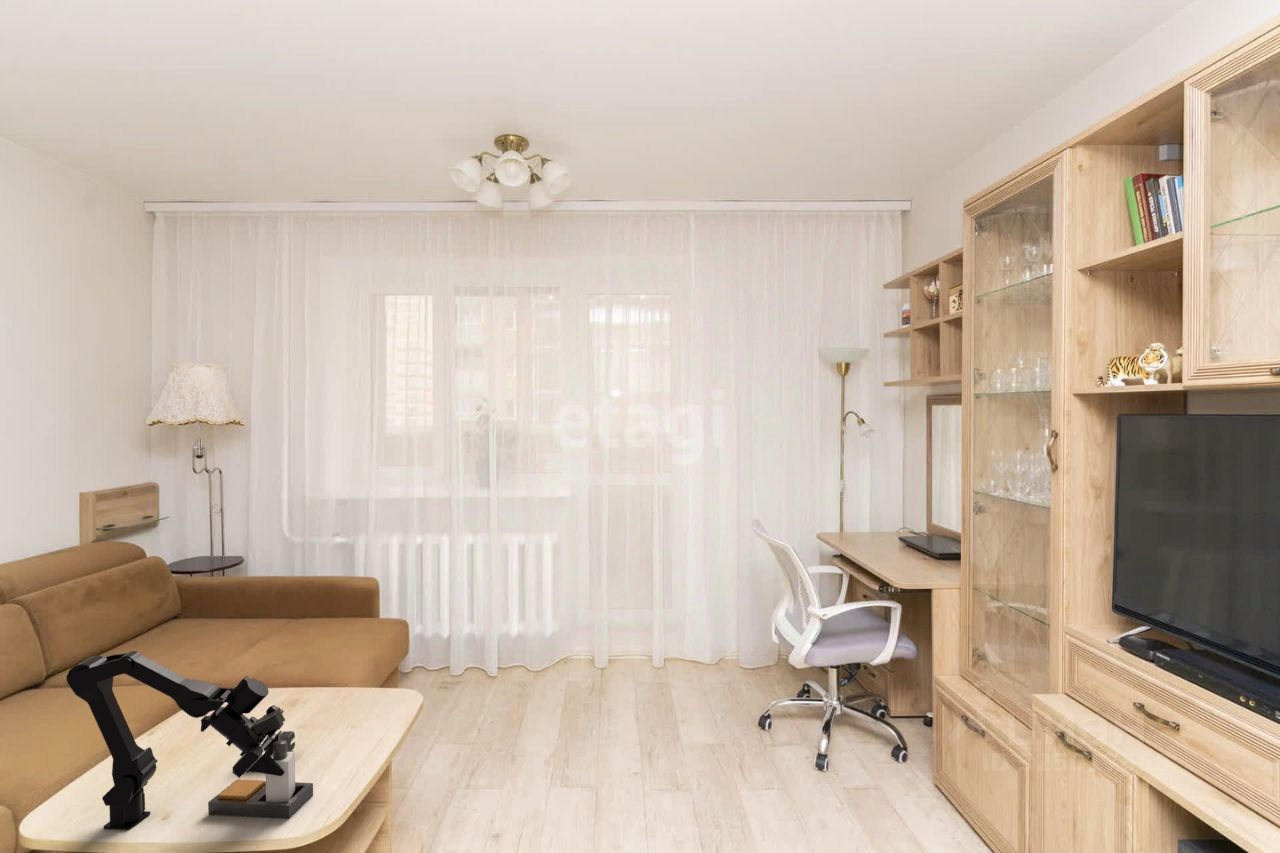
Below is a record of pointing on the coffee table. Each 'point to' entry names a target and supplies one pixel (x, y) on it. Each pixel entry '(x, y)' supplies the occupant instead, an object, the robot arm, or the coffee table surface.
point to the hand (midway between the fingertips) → (286, 768)
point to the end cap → (288, 739)
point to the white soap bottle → (285, 784)
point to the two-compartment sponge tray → (257, 800)
